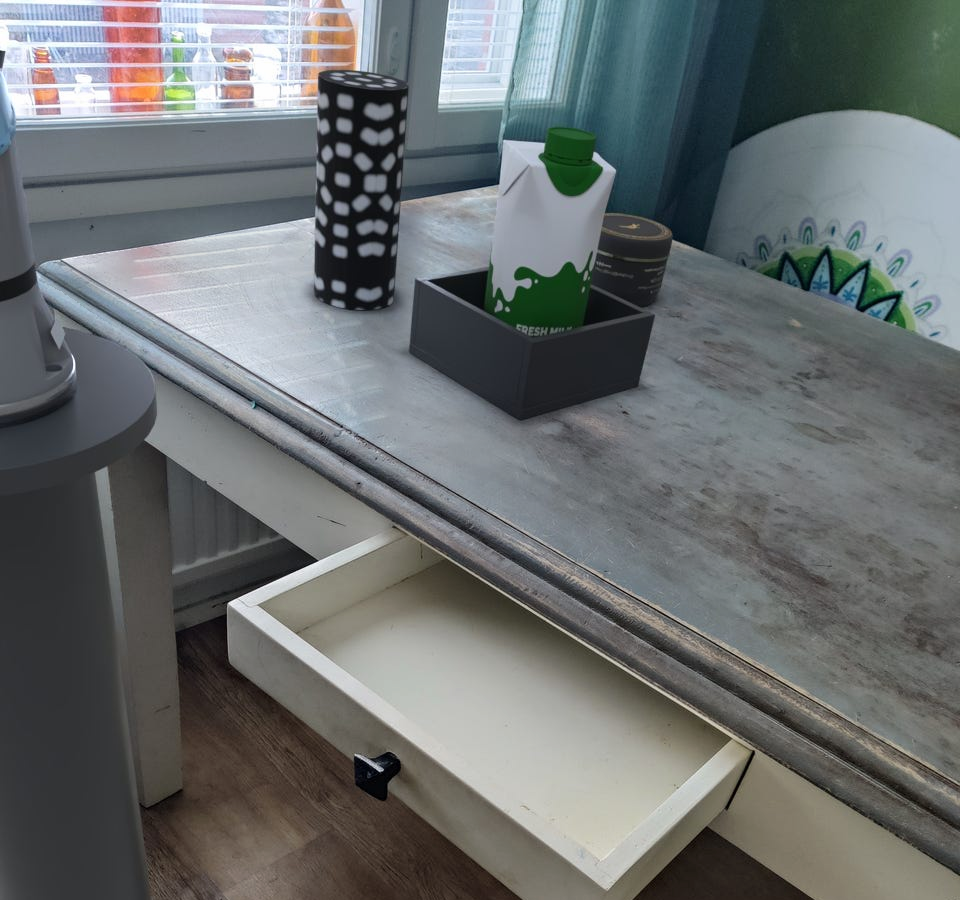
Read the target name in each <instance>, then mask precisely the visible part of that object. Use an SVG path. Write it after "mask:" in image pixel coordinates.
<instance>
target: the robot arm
mask: <svg viewBox="0 0 960 900" xmlns="http://www.w3.org/2000/svg"><path fill="white" fill-rule="evenodd" d="M7 47H8V44H7V42H6V40H5V38H4V37H3V35H2V32H0V428H4V427H9V426H14V425H19V424H22V423H26V422H30V421H33V420H36V419H39V418H41V417H44V416H46V415H48V414H50V413H52V412H54V411H56V410H58V409H59V408H61V407H62V406H64V405H65V404H66V403H67V402H69V401H70V400H71V398H72V397H73V396H74V394H75V392H76V390H77V384H78V383H77V376H76V368H75V361H74V358H73V356H72V354H71V352H70V350H69V348H68V346H67V344H66V342H65V340H64V336H65V332H64V330H63V328H62V327H63V326H62V323H61V321H60V320H59V317H58V316H56V318H55V317H54V315H53V314H52V311H51V310H50V308H49V306H48V303H47V302H46V300H45V297H44V296H43V294H42V292H41V289H40V286H39V281H38V276H37V269H36V263H35V254H34V246H33V241H32V234H31V229H30V221H29V215H28V209H27V202H26V195H25V189H24V184H23V182H24V181H23V176H22V169H21V164H20V158H19V151H18V143H17V138H16V131H17V129H16V127H17V115H16V111H15V110H16V109H15V106H14V103H13V101H12V98H11V96H10V94H9V89H8V83H7V81H6V79H5V78H6V77H5V75H4V73H3V67H4V62H5V57H6V51H7Z"/></svg>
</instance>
